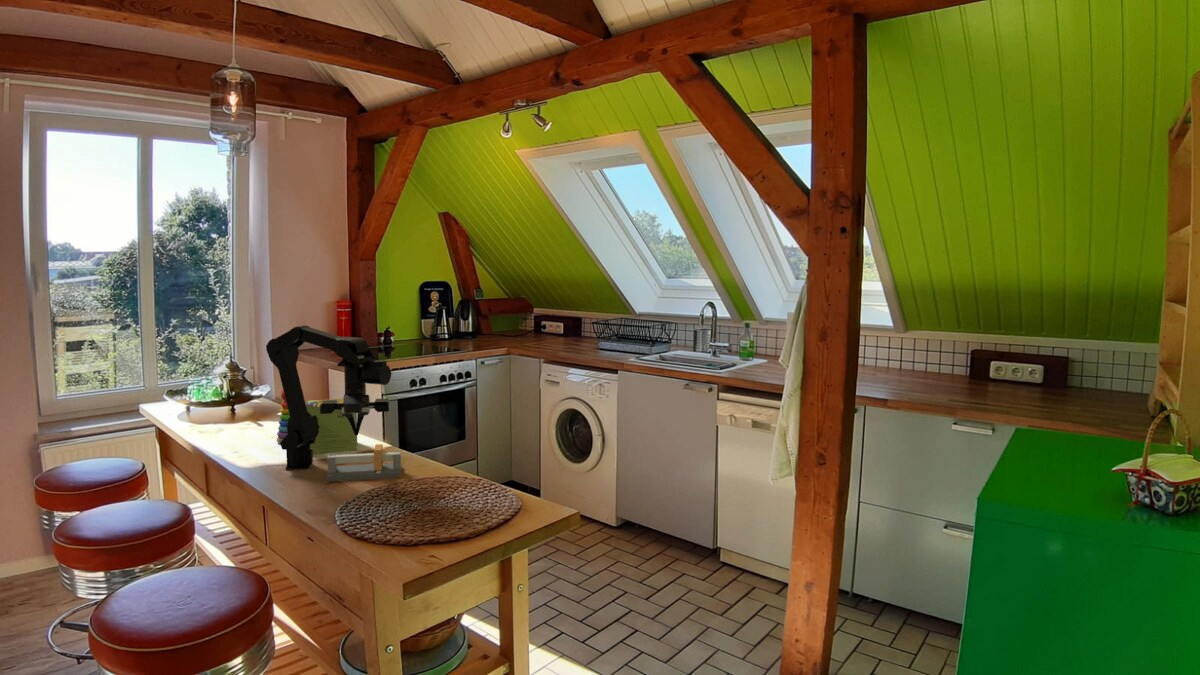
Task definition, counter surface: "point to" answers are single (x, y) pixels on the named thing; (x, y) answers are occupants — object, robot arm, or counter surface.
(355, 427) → the robot arm
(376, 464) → the collar
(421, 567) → the counter surface
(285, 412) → the stacking toy
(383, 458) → the pipe rig
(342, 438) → the protein box
